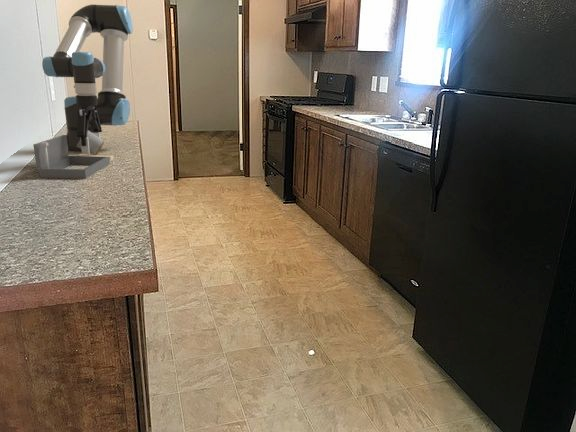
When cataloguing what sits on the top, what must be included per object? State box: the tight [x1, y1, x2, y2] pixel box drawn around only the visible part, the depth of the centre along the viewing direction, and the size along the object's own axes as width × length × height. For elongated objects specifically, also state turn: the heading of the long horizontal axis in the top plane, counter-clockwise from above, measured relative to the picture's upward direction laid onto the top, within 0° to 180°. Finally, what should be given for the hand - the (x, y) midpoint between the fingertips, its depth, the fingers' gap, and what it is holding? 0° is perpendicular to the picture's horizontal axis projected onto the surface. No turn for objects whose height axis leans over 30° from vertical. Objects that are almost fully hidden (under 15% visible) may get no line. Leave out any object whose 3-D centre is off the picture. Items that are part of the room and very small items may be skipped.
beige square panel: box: [76, 153, 117, 161], centre depth 187 cm, size 14×14×1 cm
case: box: [32, 134, 111, 180], centre depth 166 cm, size 24×16×11 cm, turn 1°
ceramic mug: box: [77, 131, 105, 155], centre depth 185 cm, size 11×8×8 cm
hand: (91, 151), depth 186 cm, fingers closed on ceramic mug, 12 cm apart
